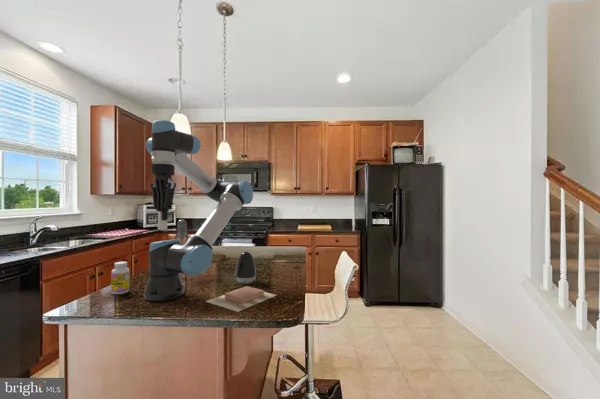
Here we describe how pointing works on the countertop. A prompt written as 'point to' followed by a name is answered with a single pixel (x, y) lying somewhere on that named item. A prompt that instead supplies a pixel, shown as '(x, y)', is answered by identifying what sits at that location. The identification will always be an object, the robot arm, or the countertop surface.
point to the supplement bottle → (120, 278)
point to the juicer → (181, 232)
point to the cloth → (238, 306)
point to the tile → (244, 294)
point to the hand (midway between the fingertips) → (162, 229)
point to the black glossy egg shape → (245, 269)
